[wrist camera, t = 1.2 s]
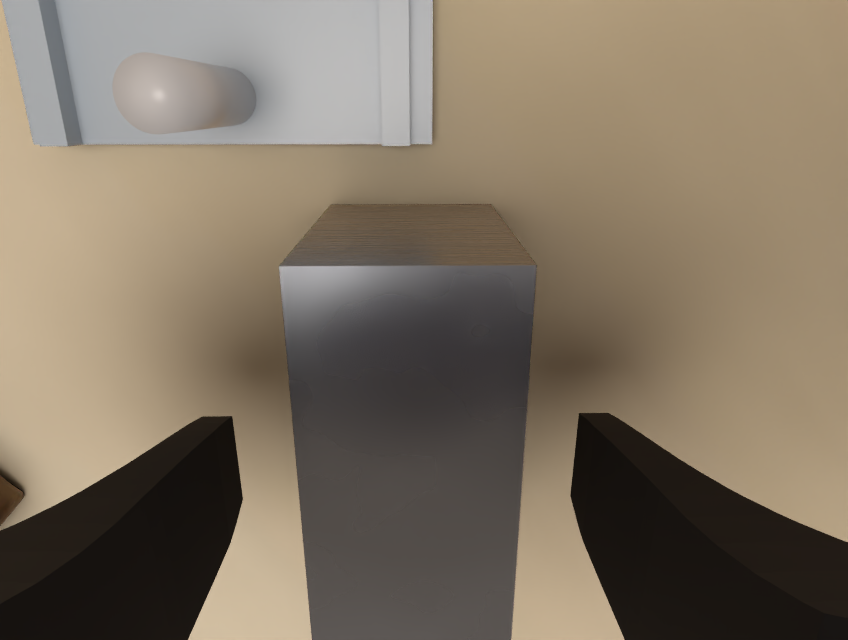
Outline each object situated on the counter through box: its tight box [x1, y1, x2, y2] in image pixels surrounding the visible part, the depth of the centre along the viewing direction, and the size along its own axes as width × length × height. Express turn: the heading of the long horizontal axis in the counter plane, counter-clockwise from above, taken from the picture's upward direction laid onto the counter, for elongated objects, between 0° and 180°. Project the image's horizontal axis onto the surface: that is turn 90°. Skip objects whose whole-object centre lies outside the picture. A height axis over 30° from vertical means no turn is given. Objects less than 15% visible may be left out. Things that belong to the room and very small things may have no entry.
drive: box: [279, 204, 537, 640], centre depth 13 cm, size 4×9×6 cm, turn 0°
